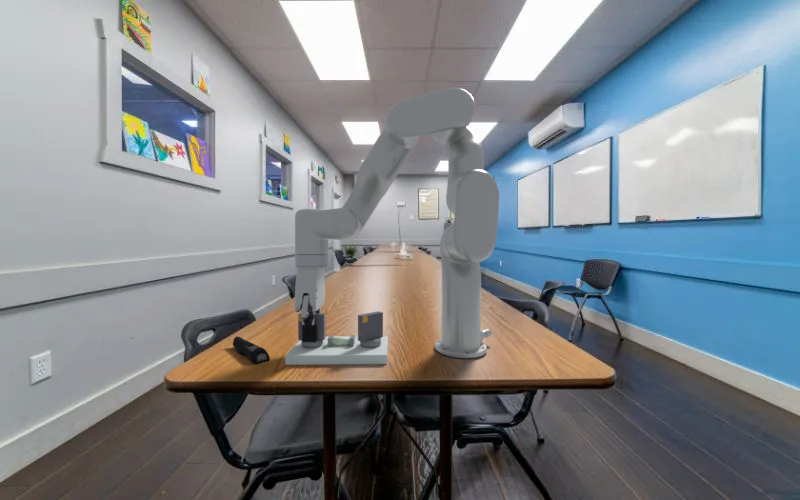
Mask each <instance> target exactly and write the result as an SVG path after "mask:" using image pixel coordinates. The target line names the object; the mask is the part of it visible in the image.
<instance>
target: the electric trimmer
mask: <svg viewBox="0 0 800 500" xmlns="http://www.w3.org/2000/svg"><path fill="white" fill-rule="evenodd" d="M232 347H234V349H235V350H236V352H237V353H238V354H240V355H245V356H247V357H248V358H249V359H250V360H251V363H252V365H259V364H261V365H262V364H263V363H264V364H265V363H266V362H269V361H270V360H271V359H270V354H269V353H268V351H267V350H266V349H265V348H263V347H262V346H261V347H260V346H259V345H257V344H255V343H253V342H250V341H249V340H246V339H244V338H243V337H240V336H235V337H234V338H233V340H232Z"/></svg>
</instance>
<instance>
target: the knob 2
mask: <svg viewBox="0 0 800 500" xmlns="http://www.w3.org/2000/svg"><path fill="white" fill-rule="evenodd" d="M357 336H358V341H360V345H361V346H363V347H376V346H379V345H381V337H383V336H384V312H382V311H379V310H378V311H377V310H376V311H372V312H367V313H361V314H358V315H357Z"/></svg>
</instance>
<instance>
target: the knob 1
mask: <svg viewBox="0 0 800 500" xmlns="http://www.w3.org/2000/svg"><path fill="white" fill-rule="evenodd" d="M326 314H327V313H326V312H321V313H316V321H315V324H317V341H316V342H303V341H302V318H301V312H299V314H298V315H297V318H298V319H297V324H298V325H297V326H298V327H297V329H298V331H297V334H298V336H297V337H298V338H297V339H298V341H300V340H301V346H303V347H307V348H311V347H317V346H320V345H322V344H323V340H324V339H325V338H326V336H327V334H326V332H327V331H326V330H327V327H326V325H327V324H326V321H327V320H326V319H327V318H326V317H327V315H326ZM309 315H311V316H312V314H309Z"/></svg>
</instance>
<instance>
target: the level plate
mask: <svg viewBox="0 0 800 500" xmlns="http://www.w3.org/2000/svg"><path fill="white" fill-rule="evenodd" d="M388 339H389V336H388V335H386V336H385V335H383V337H381V345H379V346H376V347H363V346H361V345H360V341H358V335H356V336H355V334H351V335H350V336H348V335H347V336H345V335H344V336H341V335H340V336H338V335H337V336H336V335H334V334H329V335H326V338H325V339H324V340H323V344H322V345H320V346H317V347H311V348H307V347H303V346H301V340H298V342H297V343H296V344H295V345H294V346H293V347H292V348H291V349H290V350H289V351H288V352H287V353H286V354H285V359H284V361H285V365H286V366H290V365H291V366H293V365H295V366H296V365H298V366H299V365H301V366H302V365H303V366H305V365H307V366H309V365H311V366H315V365H316V366H317V365H320V366H321V365H388V348H389V346H388V345H389V340H388Z"/></svg>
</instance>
